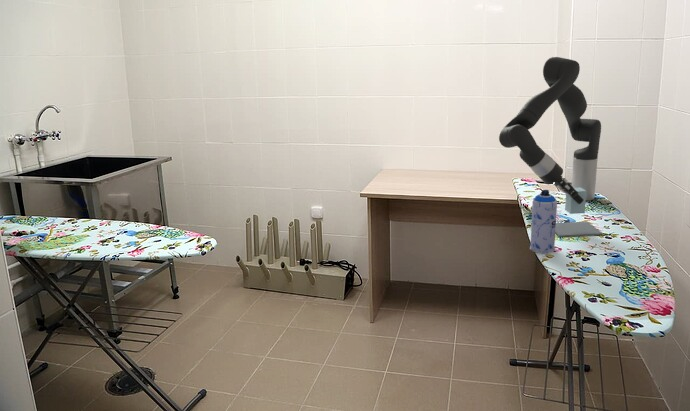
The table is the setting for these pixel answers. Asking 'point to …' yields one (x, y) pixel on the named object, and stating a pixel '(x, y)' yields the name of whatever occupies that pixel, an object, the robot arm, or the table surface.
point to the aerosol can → (543, 223)
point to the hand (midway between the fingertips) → (578, 199)
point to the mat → (576, 229)
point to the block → (572, 205)
